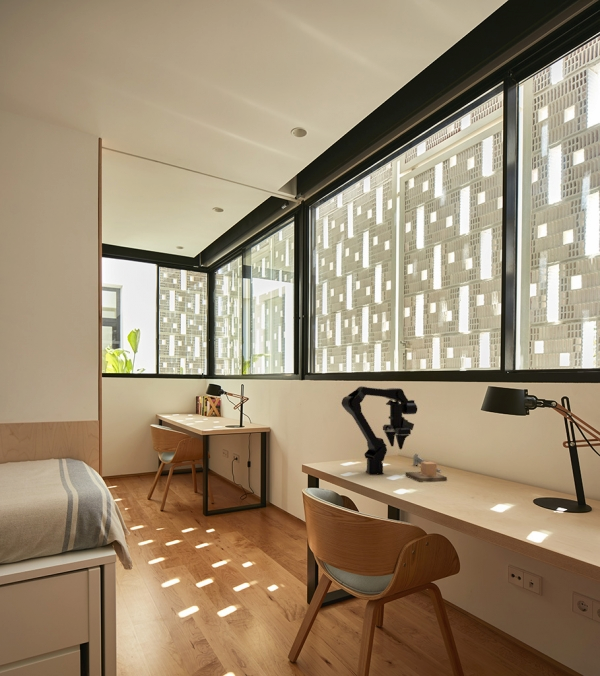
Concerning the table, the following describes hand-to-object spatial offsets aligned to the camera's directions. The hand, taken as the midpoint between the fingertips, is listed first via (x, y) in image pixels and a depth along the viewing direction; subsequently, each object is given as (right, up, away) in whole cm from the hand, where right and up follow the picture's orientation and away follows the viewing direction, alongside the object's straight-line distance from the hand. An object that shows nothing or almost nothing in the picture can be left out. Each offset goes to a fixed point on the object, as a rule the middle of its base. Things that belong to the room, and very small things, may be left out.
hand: (396, 447), depth 218 cm
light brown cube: (+11, -8, -15) cm, 20 cm away
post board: (+10, -10, -15) cm, 20 cm away
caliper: (+17, -12, +7) cm, 22 cm away
